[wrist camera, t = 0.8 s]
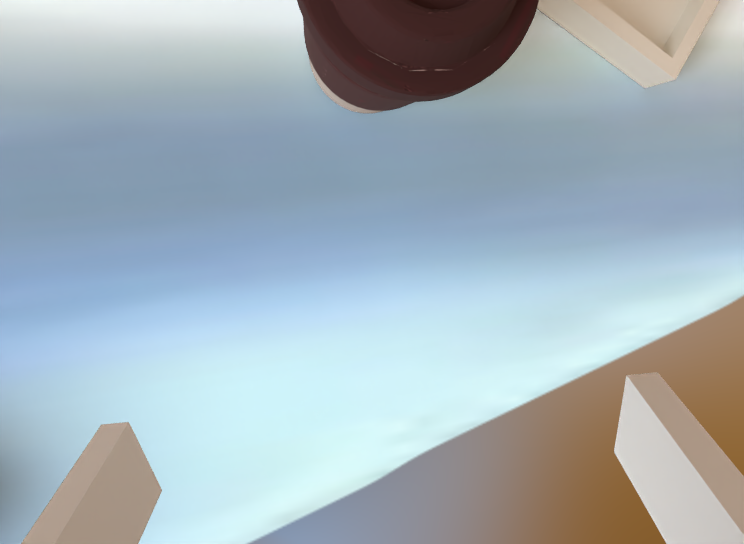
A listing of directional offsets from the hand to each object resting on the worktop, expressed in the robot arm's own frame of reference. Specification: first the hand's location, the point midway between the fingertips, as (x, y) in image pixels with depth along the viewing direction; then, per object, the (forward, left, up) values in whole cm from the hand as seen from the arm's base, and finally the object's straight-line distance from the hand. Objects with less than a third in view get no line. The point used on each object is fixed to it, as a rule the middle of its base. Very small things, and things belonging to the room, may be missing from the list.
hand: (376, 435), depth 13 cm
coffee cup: (-4, +15, -21) cm, 26 cm away
